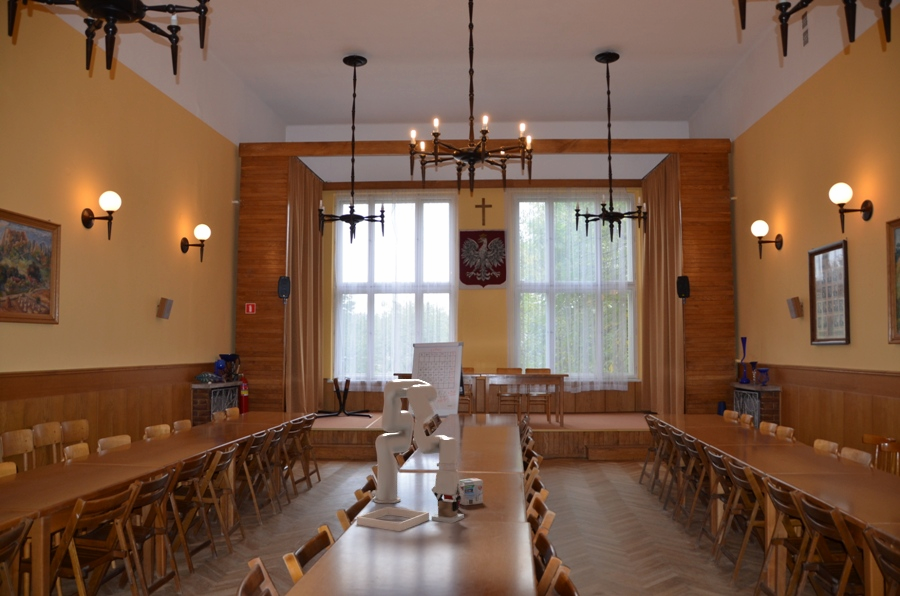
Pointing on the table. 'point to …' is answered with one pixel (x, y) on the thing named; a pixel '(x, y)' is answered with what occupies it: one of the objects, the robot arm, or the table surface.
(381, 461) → the robot arm
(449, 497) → the plastic cup
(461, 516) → the display stand
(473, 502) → the light bulb box
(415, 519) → the beige square frame
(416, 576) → the table surface
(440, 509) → the walnut block
